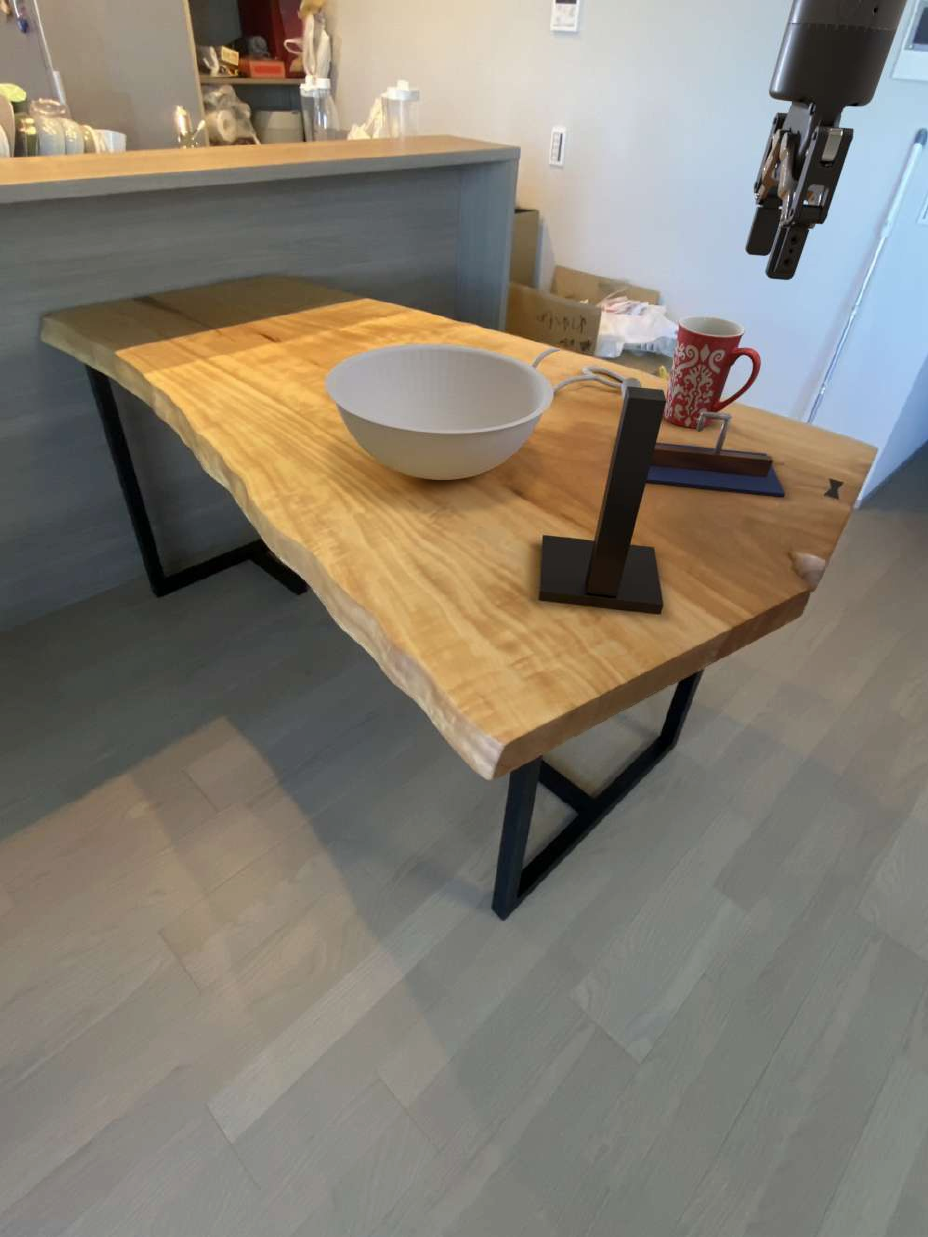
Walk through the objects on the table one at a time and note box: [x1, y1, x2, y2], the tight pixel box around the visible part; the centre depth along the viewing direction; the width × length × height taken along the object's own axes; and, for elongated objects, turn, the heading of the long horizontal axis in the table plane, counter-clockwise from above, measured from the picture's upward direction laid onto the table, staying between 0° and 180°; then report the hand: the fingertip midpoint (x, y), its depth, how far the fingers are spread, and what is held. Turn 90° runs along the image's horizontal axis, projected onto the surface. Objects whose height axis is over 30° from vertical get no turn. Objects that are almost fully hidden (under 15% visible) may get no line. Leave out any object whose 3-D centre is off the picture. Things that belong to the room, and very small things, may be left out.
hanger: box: [651, 412, 774, 477], centre depth 88 cm, size 17×1×8 cm, turn 83°
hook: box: [531, 347, 629, 394], centre depth 108 cm, size 7×9×20 cm
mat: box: [646, 442, 786, 498], centre depth 91 cm, size 20×11×1 cm, turn 83°
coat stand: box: [538, 377, 666, 615], centre depth 65 cm, size 12×10×21 cm
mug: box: [663, 315, 762, 429], centre depth 98 cm, size 13×9×14 cm
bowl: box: [324, 343, 555, 481], centre depth 86 cm, size 27×27×10 cm
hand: (766, 265), depth 60 cm, fingers open, 8 cm apart
